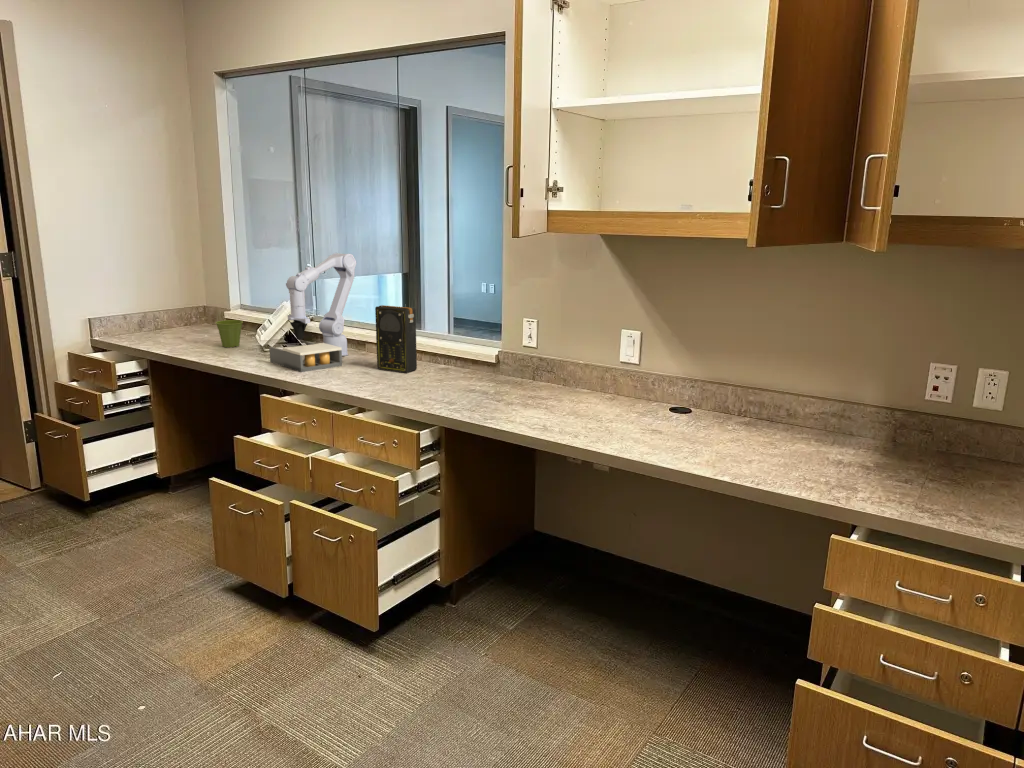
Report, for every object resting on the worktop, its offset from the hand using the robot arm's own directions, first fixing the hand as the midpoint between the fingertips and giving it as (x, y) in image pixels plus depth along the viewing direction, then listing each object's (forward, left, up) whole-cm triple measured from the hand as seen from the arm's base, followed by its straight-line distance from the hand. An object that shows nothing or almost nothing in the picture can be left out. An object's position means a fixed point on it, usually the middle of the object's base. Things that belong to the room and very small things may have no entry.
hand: (299, 339), depth 298 cm
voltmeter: (-20, +40, -10) cm, 45 cm away
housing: (+1, +6, -9) cm, 11 cm away
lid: (+1, +12, -4) cm, 12 cm away
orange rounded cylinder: (+4, +15, -9) cm, 18 cm away
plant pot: (+7, -52, -10) cm, 54 cm away
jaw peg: (-2, +15, -9) cm, 18 cm away
